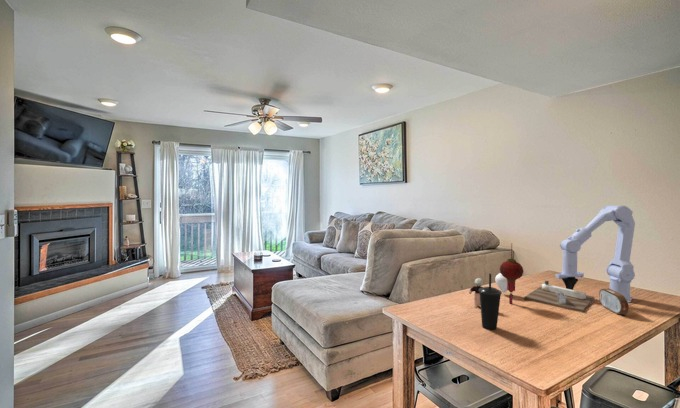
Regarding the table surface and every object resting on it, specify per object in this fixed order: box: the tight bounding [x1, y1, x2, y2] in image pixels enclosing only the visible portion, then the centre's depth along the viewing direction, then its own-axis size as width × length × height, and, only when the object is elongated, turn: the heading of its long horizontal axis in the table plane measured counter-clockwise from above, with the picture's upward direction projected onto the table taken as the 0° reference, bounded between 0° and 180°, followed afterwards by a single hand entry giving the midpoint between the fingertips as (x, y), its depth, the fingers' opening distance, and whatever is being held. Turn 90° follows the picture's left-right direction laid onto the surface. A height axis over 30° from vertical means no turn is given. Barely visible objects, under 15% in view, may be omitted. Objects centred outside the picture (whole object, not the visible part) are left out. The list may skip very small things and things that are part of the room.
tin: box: [598, 287, 630, 316], centre depth 132 cm, size 15×3×8 cm, turn 168°
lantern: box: [499, 244, 524, 305], centre depth 139 cm, size 10×10×30 cm
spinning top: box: [494, 272, 508, 295], centre depth 152 cm, size 8×8×12 cm
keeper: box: [551, 288, 566, 305], centre depth 141 cm, size 10×2×4 cm, turn 162°
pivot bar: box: [541, 283, 587, 299], centre depth 150 cm, size 18×4×2 cm, turn 31°
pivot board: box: [523, 280, 595, 313], centre depth 146 cm, size 26×22×6 cm
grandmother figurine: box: [468, 277, 484, 309], centre depth 135 cm, size 8×4×13 cm, turn 71°
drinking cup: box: [479, 272, 503, 331], centre depth 114 cm, size 8×8×20 cm
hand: (569, 292), depth 150 cm, fingers closed
